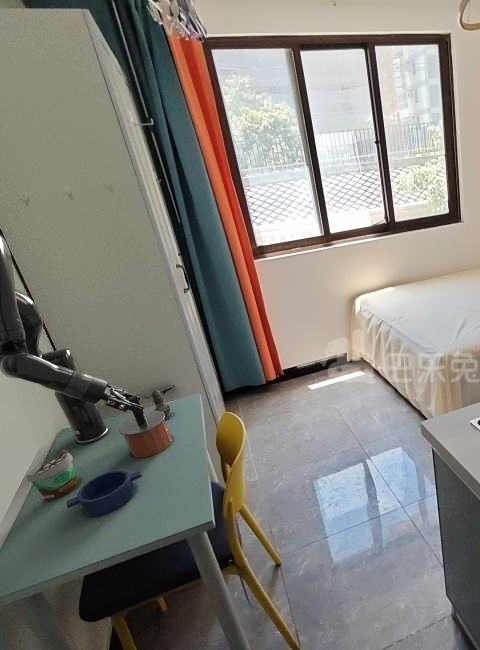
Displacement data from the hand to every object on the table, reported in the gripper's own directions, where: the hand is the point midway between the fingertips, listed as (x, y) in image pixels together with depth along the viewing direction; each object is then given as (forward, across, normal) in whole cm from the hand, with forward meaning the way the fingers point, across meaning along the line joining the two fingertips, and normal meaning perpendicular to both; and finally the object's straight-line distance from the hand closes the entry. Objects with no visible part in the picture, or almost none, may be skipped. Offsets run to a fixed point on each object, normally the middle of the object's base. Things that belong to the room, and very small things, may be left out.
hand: (140, 405), depth 142 cm
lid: (+3, 0, +5) cm, 6 cm away
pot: (+10, 0, +12) cm, 15 cm away
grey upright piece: (+15, +18, +7) cm, 24 cm away
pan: (0, -21, +22) cm, 30 cm away
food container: (-7, -6, +29) cm, 30 cm away
